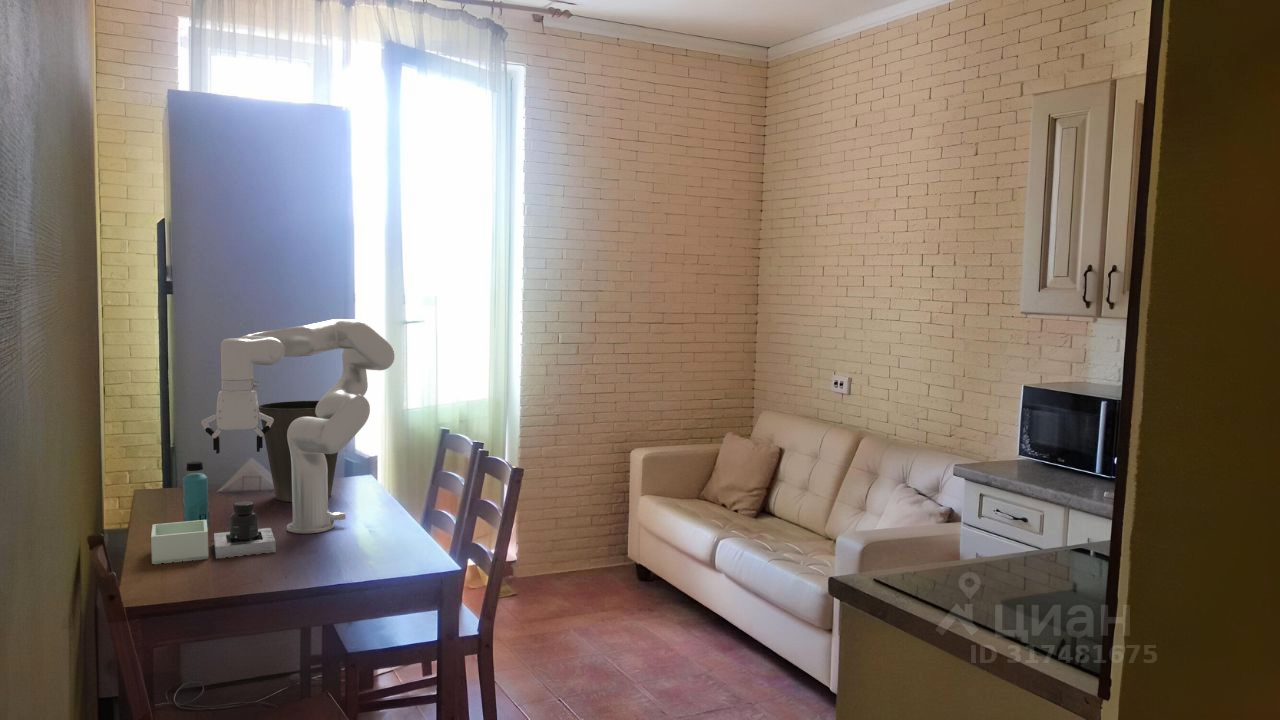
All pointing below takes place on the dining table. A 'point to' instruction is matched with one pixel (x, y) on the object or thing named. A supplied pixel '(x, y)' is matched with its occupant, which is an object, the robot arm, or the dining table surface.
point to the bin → (179, 541)
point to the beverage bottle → (195, 494)
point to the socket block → (244, 544)
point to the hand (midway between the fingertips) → (238, 451)
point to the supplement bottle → (243, 522)
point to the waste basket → (279, 444)
